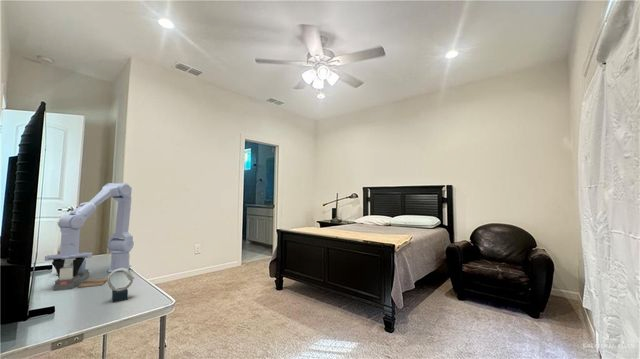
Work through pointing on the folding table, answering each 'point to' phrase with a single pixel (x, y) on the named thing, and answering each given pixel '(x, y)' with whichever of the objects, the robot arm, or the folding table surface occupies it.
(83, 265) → the blue charger
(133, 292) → the folding table surface
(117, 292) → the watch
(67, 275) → the block
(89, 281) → the walnut board
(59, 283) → the power strip
